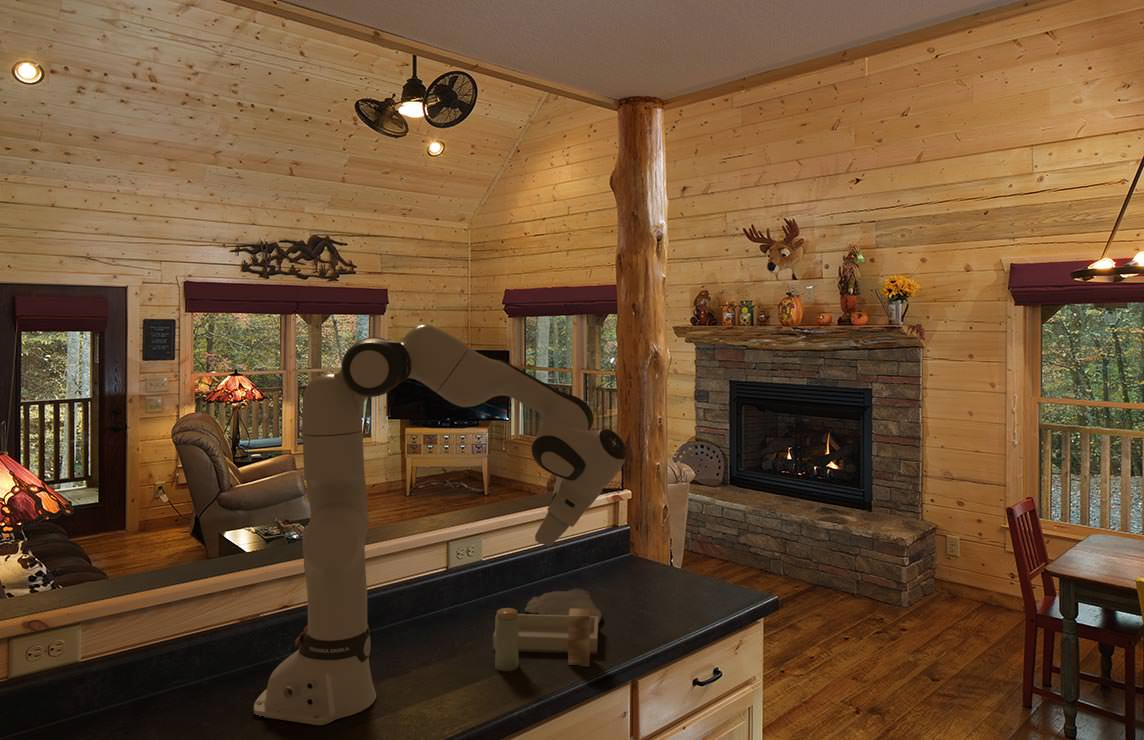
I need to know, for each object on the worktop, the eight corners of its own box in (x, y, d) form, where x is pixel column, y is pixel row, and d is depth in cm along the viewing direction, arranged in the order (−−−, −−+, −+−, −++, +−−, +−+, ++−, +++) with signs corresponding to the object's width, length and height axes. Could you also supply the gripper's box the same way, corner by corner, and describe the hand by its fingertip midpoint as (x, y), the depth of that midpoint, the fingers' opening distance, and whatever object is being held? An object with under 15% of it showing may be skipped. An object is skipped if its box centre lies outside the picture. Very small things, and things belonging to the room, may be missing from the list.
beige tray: (493, 650, 171) (493, 635, 171) (502, 627, 184) (502, 613, 184) (596, 653, 169) (596, 638, 169) (598, 630, 183) (598, 616, 183)
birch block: (568, 665, 163) (568, 615, 163) (569, 656, 168) (569, 608, 167) (588, 666, 163) (589, 616, 163) (589, 657, 168) (590, 608, 167)
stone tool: (514, 609, 200) (559, 639, 178) (514, 597, 200) (558, 625, 178) (577, 594, 210) (627, 621, 188) (577, 582, 210) (626, 607, 188)
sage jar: (493, 670, 160) (493, 615, 160) (497, 660, 165) (497, 607, 165) (516, 671, 160) (517, 616, 160) (519, 661, 165) (520, 607, 165)
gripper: (579, 452, 166) (551, 489, 174) (547, 510, 149) (517, 548, 157) (603, 469, 166) (573, 504, 174) (573, 528, 149) (542, 565, 157)
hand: (546, 525), depth 165 cm, fingers open, 8 cm apart
